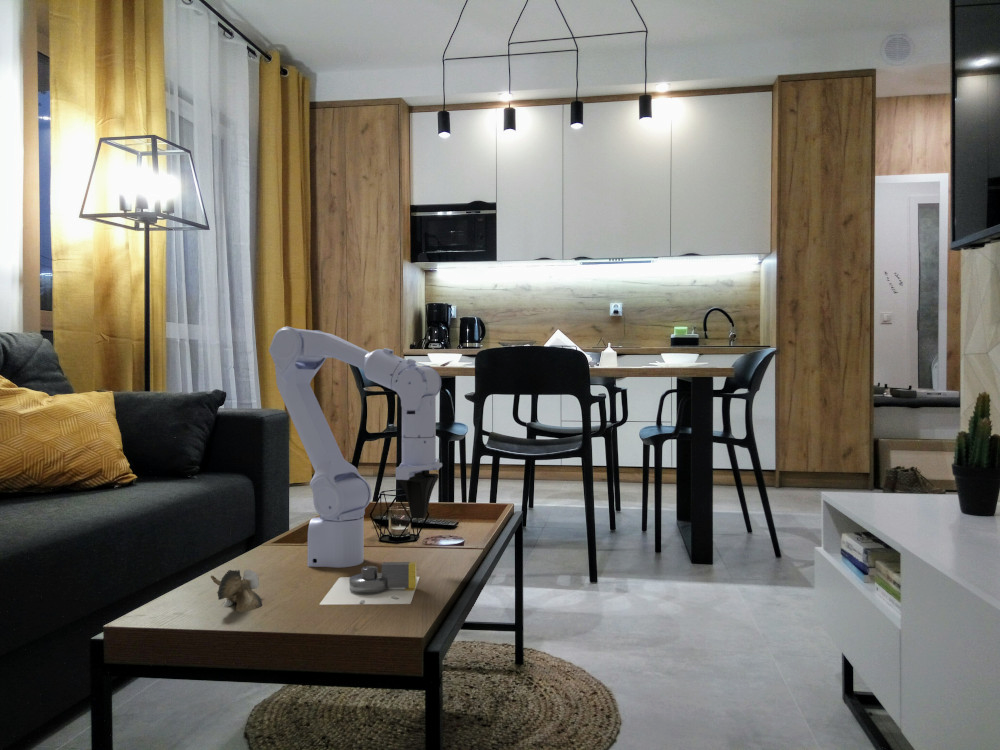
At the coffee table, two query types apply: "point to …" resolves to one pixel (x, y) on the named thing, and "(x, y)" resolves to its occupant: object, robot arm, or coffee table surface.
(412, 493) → the robot arm
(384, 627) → the coffee table surface
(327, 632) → the coffee table surface
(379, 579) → the dial
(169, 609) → the coffee table surface
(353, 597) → the dial plate
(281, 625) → the coffee table surface
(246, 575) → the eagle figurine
